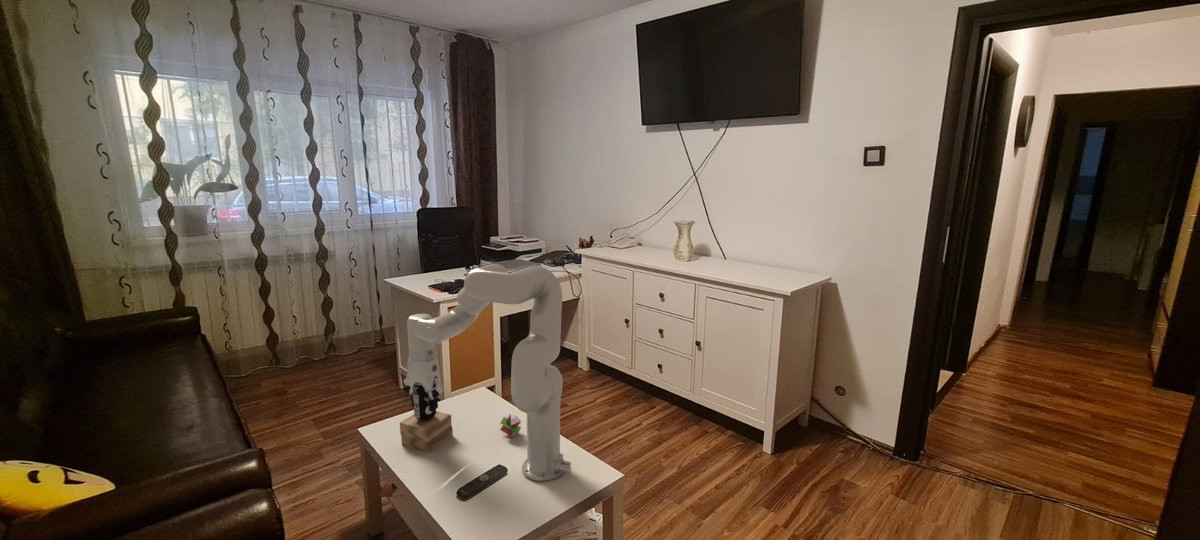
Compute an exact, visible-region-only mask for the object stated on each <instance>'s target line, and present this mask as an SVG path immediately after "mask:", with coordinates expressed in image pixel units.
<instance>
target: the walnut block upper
mask: <svg viewBox="0 0 1200 540" xmlns="http://www.w3.org/2000/svg"><path fill="white" fill-rule="evenodd" d="M451 426H452V414H450V413H447V412H446V413H445V412H442V411H438V410H436V414H435V415H434V417H433V418H431V419H428V420H418V419H417V418H416V417H415V416H414V414H412V415H410V416H408V417H407V418H405V419H404V420H402V421H400V422H399V430H400V431H399V432H400V435H404V436H408V437H412V438H416V439H419V440H423V441H427V442H429V441H430V440H432V439H433V438H435V437H436V436H438V435H439V434H441V433H442V432H443V431H445V430H446V429H448V428H449V427H451ZM452 427H453V426H452Z"/></svg>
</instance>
